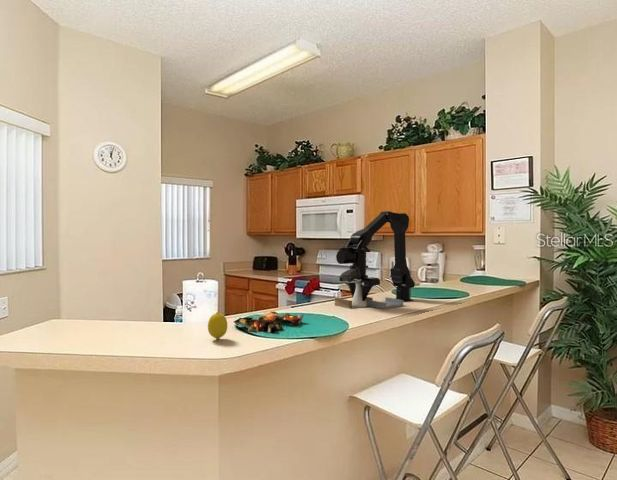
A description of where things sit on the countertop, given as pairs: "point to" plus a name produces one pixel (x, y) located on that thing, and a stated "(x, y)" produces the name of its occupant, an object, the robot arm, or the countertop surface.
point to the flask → (358, 296)
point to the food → (268, 322)
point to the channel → (347, 302)
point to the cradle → (386, 303)
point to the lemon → (217, 325)
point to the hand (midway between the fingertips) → (358, 300)
